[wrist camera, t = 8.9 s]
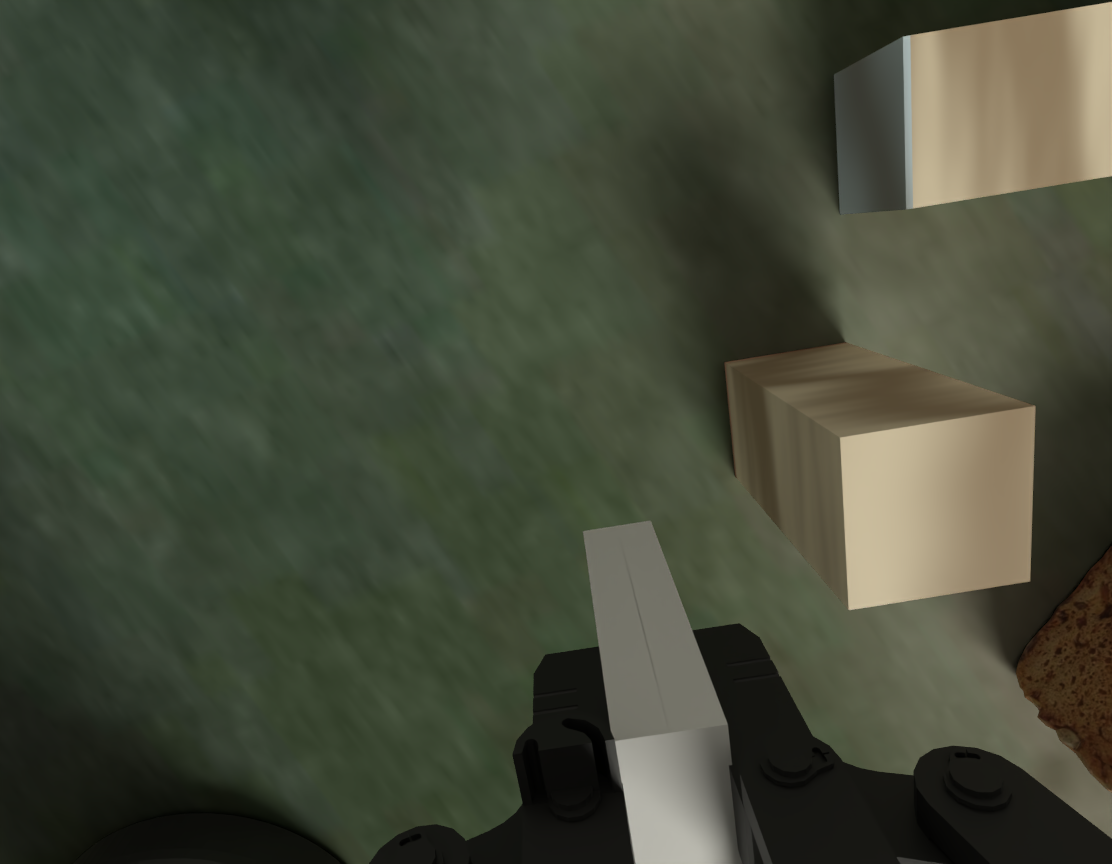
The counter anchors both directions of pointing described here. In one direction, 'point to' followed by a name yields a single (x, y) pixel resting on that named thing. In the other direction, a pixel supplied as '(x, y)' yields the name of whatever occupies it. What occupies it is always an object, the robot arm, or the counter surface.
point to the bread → (1077, 671)
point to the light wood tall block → (885, 471)
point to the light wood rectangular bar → (977, 111)
